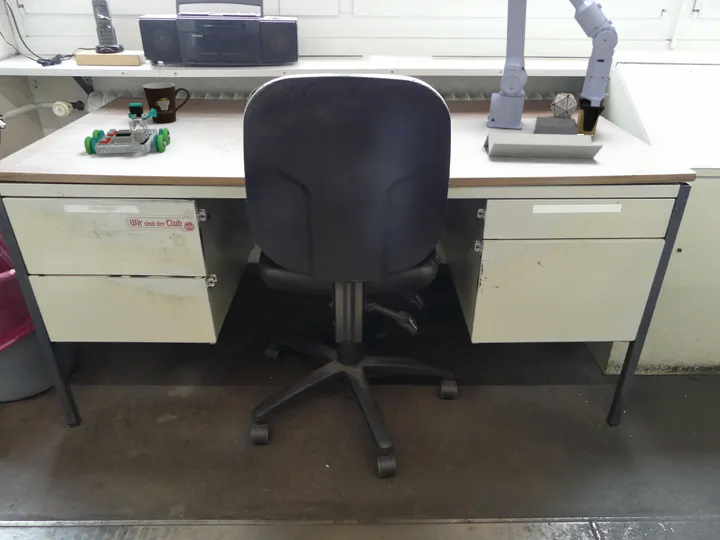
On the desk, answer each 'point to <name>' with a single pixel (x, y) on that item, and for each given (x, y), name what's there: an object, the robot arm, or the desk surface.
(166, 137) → the robot kit
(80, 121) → the desk surface
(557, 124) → the charcoal stand
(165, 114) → the coffee mug
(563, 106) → the game die
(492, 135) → the grey v-shaped trough
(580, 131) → the ochre block
